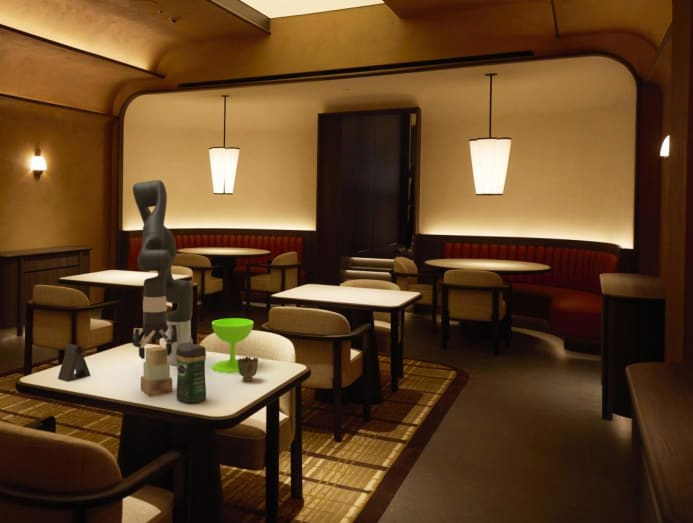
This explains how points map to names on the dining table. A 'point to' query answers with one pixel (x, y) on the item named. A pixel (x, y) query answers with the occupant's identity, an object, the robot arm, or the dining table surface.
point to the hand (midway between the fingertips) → (155, 356)
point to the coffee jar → (191, 373)
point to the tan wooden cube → (156, 356)
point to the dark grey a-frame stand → (73, 364)
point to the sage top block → (156, 372)
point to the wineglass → (231, 339)
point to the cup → (247, 368)
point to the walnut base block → (156, 386)
